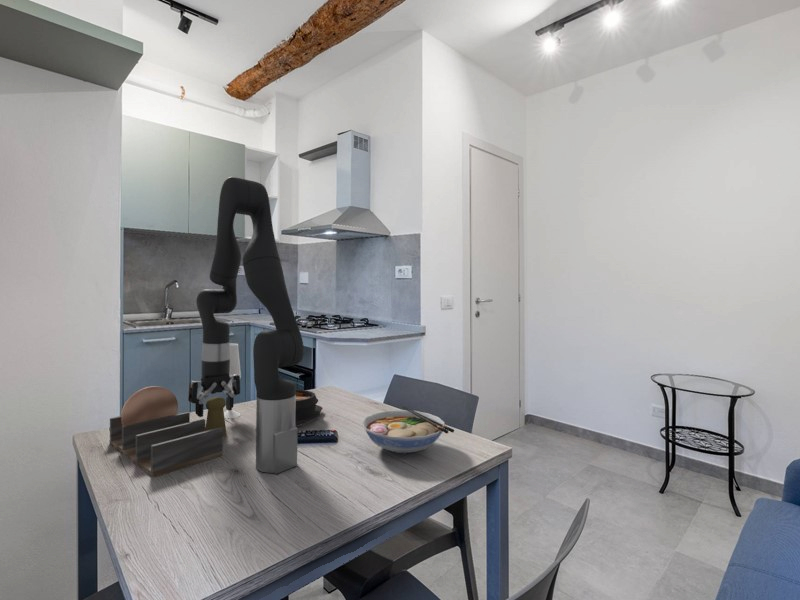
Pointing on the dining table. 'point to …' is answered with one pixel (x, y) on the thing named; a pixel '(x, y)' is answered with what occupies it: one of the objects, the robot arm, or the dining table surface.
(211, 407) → the cork
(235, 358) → the champagne flute
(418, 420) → the ramen bowl
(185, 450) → the rack
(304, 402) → the casserole
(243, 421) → the dining table surface
